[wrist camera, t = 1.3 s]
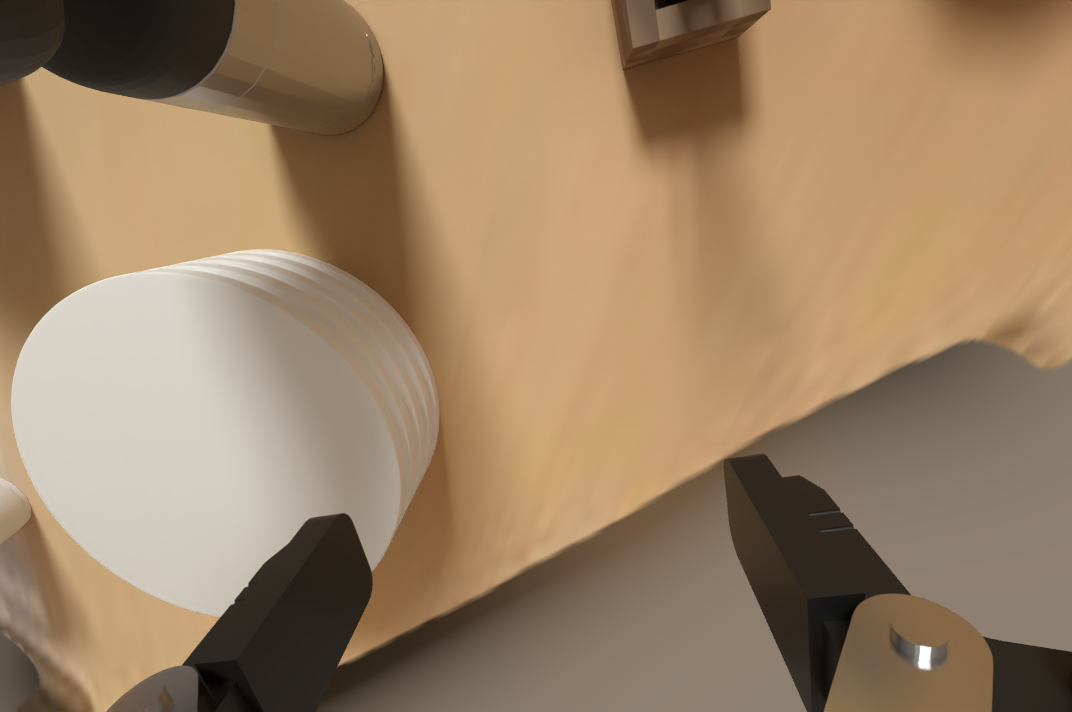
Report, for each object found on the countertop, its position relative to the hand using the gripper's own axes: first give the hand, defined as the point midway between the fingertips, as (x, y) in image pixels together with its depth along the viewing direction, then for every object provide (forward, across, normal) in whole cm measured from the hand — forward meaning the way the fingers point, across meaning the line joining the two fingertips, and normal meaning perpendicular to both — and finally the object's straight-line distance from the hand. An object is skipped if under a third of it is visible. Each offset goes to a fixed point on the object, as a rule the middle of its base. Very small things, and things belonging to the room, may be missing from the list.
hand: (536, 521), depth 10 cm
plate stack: (+32, -27, -7) cm, 43 cm away
